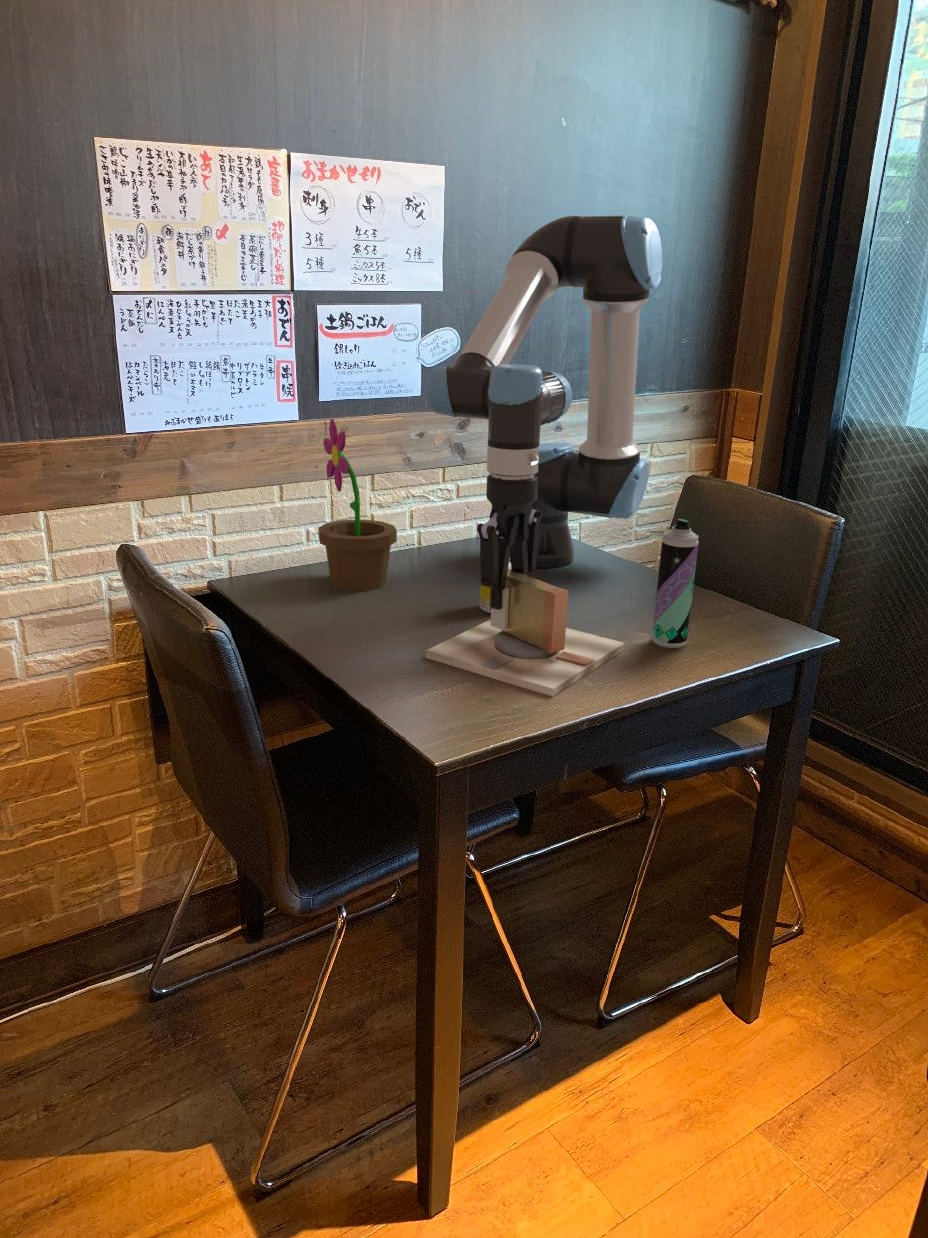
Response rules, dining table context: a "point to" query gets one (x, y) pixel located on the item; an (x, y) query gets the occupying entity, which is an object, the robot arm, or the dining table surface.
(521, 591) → the tan rectangular block
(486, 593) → the supplement bottle
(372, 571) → the flowerpot
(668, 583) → the spray can
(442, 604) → the dining table surface
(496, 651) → the board
